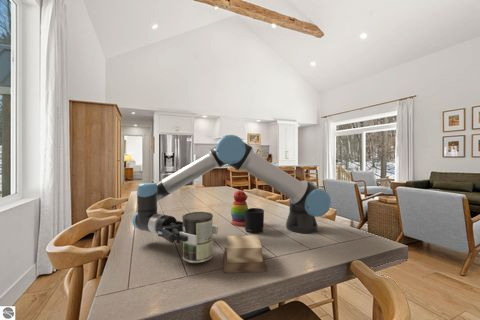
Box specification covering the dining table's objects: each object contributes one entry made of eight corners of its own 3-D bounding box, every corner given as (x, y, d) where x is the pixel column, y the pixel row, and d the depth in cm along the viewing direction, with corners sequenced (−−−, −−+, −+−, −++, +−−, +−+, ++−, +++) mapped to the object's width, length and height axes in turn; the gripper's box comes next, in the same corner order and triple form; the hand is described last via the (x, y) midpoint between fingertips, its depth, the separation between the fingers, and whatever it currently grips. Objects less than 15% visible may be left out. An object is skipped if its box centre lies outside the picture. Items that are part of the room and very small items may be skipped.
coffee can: (180, 264, 69) (179, 220, 69) (185, 250, 80) (185, 212, 79) (212, 262, 70) (212, 218, 70) (213, 249, 80) (213, 211, 80)
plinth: (259, 253, 80) (259, 234, 80) (266, 271, 67) (266, 248, 67) (224, 254, 79) (224, 235, 79) (224, 272, 66) (223, 249, 66)
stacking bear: (248, 227, 110) (247, 192, 110) (228, 226, 112) (228, 191, 112) (251, 221, 121) (251, 189, 121) (233, 220, 123) (233, 189, 123)
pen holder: (241, 228, 108) (241, 208, 108) (259, 226, 111) (259, 207, 111) (248, 235, 99) (248, 213, 99) (267, 232, 102) (267, 211, 102)
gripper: (185, 226, 94) (227, 235, 82) (136, 244, 75) (182, 259, 63) (184, 209, 94) (226, 216, 82) (136, 222, 75) (181, 233, 63)
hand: (207, 235), depth 72 cm, fingers closed on coffee can, 10 cm apart
